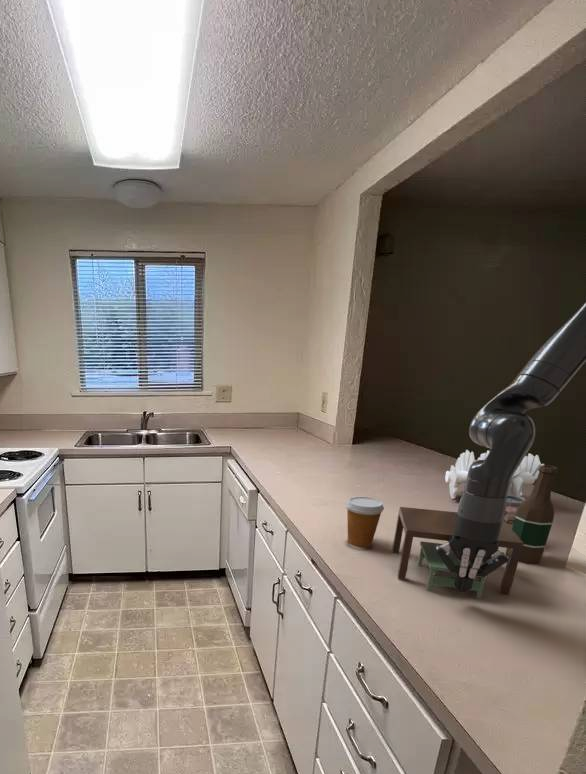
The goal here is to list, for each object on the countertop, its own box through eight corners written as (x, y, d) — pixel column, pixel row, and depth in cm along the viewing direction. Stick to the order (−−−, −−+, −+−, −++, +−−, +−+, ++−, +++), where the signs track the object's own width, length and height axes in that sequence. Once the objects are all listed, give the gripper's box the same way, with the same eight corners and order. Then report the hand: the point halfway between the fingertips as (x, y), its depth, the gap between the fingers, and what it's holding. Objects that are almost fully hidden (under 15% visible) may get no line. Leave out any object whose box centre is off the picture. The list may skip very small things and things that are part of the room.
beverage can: (472, 533, 125) (482, 494, 121) (493, 529, 127) (503, 491, 123) (504, 546, 117) (515, 505, 113) (526, 542, 119) (538, 501, 115)
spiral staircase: (439, 504, 159) (520, 507, 152) (453, 498, 143) (544, 502, 135) (440, 455, 161) (520, 456, 153) (454, 444, 144) (545, 444, 136)
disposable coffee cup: (377, 551, 115) (384, 509, 111) (339, 545, 119) (344, 504, 115) (378, 538, 123) (384, 498, 119) (343, 533, 127) (348, 494, 123)
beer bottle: (510, 562, 109) (536, 469, 100) (499, 549, 116) (523, 461, 107) (547, 566, 106) (577, 472, 98) (534, 552, 113) (561, 463, 105)
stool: (466, 569, 105) (471, 547, 103) (482, 599, 93) (489, 574, 91) (416, 562, 109) (420, 541, 107) (425, 590, 97) (430, 566, 94)
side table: (488, 562, 109) (500, 516, 104) (508, 595, 94) (524, 543, 90) (391, 550, 116) (399, 506, 111) (398, 579, 102) (406, 530, 97)
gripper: (514, 511, 86) (493, 587, 92) (438, 504, 90) (423, 577, 96) (527, 525, 79) (504, 606, 85) (445, 516, 84) (428, 594, 90)
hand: (461, 590), depth 91 cm, fingers closed
